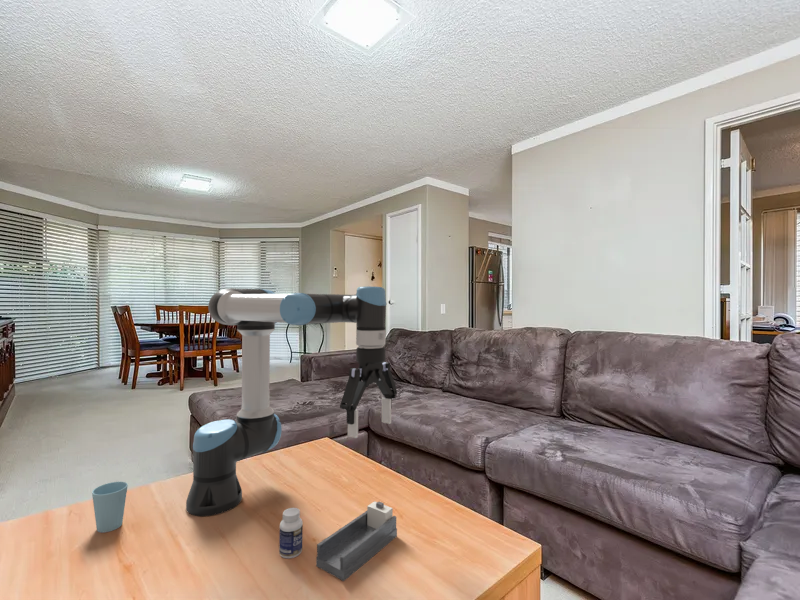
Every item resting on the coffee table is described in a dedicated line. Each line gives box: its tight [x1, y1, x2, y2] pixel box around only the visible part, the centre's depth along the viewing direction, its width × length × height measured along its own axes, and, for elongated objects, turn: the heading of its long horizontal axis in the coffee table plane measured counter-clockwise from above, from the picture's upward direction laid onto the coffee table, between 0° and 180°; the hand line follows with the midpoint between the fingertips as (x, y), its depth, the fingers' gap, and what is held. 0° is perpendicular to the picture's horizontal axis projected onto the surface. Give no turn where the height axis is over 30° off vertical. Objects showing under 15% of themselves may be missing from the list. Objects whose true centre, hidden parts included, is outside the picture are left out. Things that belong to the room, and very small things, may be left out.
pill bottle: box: [278, 507, 304, 559], centre depth 94 cm, size 5×5×10 cm
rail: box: [315, 510, 398, 582], centre depth 95 cm, size 8×20×5 cm, turn 145°
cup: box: [91, 481, 129, 533], centre depth 105 cm, size 8×8×10 cm
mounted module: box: [366, 501, 394, 529], centre depth 102 cm, size 6×3×6 cm, turn 55°
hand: (370, 429), depth 100 cm, fingers open, 13 cm apart
